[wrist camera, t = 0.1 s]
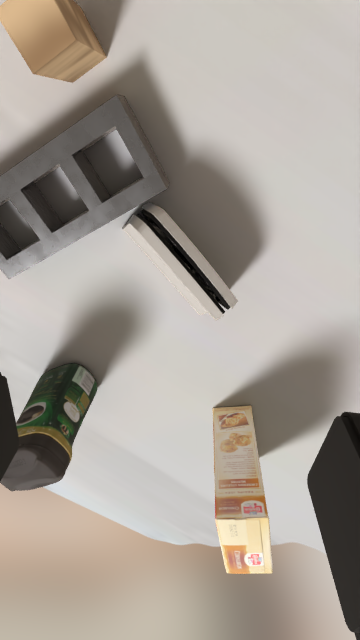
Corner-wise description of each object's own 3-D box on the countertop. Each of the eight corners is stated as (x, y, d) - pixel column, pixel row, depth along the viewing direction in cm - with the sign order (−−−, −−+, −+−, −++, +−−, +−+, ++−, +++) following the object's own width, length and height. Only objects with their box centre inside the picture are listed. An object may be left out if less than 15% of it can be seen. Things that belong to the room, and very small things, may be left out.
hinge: (119, 225, 45) (124, 231, 35) (146, 200, 45) (158, 199, 35) (198, 314, 51) (219, 338, 42) (222, 292, 51) (249, 312, 41)
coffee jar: (62, 404, 62) (13, 504, 47) (34, 373, 59) (-28, 470, 43) (106, 389, 60) (71, 489, 44) (80, 355, 56) (32, 451, 40)
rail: (-30, 203, 44) (-50, 210, 41) (124, 96, 37) (116, 94, 34) (22, 267, 49) (8, 279, 45) (169, 182, 42) (166, 189, 38)
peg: (45, 35, 35) (-6, 11, 27) (80, 7, 34) (38, -29, 25) (72, 82, 37) (33, 73, 28) (106, 57, 36) (75, 39, 27)
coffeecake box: (211, 407, 61) (213, 519, 44) (252, 404, 60) (270, 517, 43) (220, 461, 68) (225, 575, 51) (256, 459, 67) (274, 575, 50)
